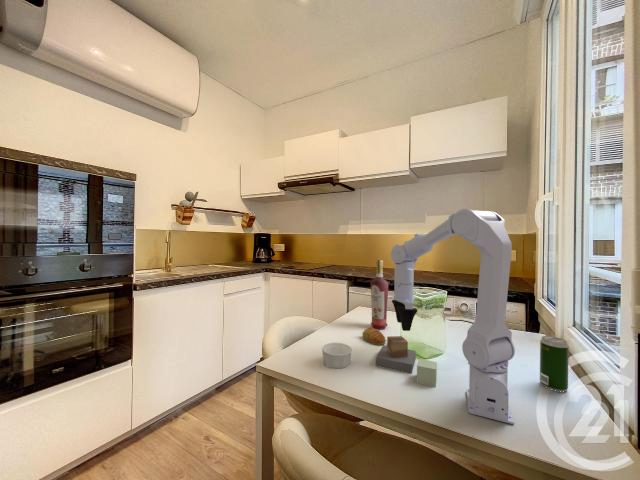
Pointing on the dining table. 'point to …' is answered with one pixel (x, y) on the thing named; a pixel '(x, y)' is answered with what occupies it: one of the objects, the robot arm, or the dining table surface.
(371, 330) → the pastry
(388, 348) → the walnut cube
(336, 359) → the ramekin
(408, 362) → the charcoal slab
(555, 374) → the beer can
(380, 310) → the liquor
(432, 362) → the sage green cube
